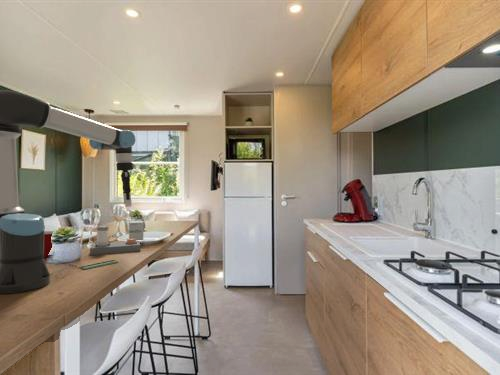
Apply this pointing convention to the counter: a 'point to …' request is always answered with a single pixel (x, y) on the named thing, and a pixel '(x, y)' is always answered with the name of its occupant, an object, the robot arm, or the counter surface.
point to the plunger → (131, 241)
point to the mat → (97, 264)
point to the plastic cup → (47, 243)
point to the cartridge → (102, 236)
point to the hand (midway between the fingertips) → (127, 205)
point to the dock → (114, 248)
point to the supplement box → (136, 230)
